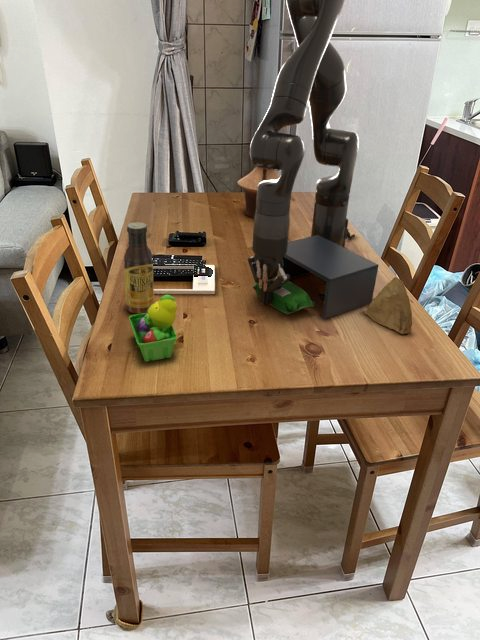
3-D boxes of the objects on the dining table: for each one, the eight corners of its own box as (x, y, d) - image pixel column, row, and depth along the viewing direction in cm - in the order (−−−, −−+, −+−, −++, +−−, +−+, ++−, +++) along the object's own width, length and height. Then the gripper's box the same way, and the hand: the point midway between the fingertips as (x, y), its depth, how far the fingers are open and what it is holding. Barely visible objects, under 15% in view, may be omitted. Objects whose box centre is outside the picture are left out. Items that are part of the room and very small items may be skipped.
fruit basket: (129, 336, 106) (125, 287, 100) (171, 329, 109) (169, 282, 103) (139, 367, 97) (135, 316, 91) (185, 359, 100) (183, 309, 94)
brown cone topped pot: (288, 223, 166) (295, 134, 152) (236, 221, 166) (238, 132, 152) (284, 206, 181) (291, 123, 167) (237, 204, 181) (239, 121, 167)
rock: (427, 327, 108) (414, 299, 116) (411, 301, 104) (398, 274, 111) (380, 349, 112) (370, 321, 120) (363, 325, 108) (354, 297, 115)
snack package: (291, 324, 112) (293, 303, 110) (249, 294, 123) (251, 275, 120) (315, 315, 116) (318, 295, 113) (273, 288, 127) (274, 269, 124)
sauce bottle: (131, 317, 112) (123, 232, 102) (123, 305, 117) (114, 222, 107) (159, 311, 115) (154, 228, 105) (150, 299, 120) (145, 218, 109)
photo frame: (214, 289, 122) (139, 289, 121) (214, 294, 123) (139, 293, 122) (214, 264, 135) (145, 263, 134) (214, 268, 135) (146, 267, 134)
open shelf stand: (313, 269, 137) (317, 234, 131) (371, 302, 122) (378, 264, 117) (268, 282, 129) (271, 246, 124) (324, 319, 114) (330, 279, 109)
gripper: (304, 238, 105) (296, 311, 114) (266, 219, 114) (261, 288, 123) (275, 245, 101) (269, 320, 110) (239, 224, 111) (236, 295, 119)
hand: (265, 303), depth 117 cm, fingers closed
